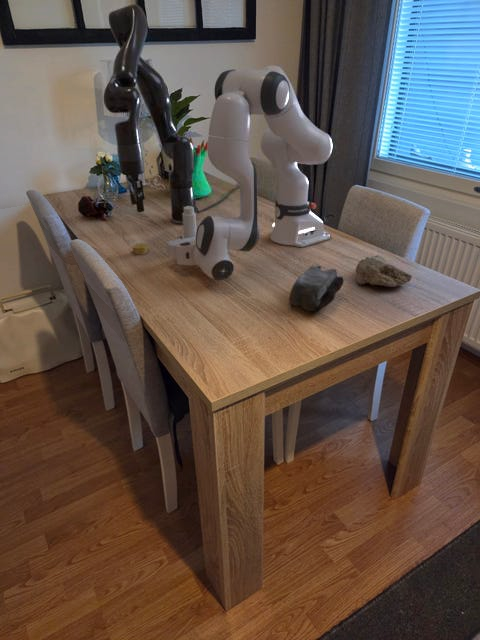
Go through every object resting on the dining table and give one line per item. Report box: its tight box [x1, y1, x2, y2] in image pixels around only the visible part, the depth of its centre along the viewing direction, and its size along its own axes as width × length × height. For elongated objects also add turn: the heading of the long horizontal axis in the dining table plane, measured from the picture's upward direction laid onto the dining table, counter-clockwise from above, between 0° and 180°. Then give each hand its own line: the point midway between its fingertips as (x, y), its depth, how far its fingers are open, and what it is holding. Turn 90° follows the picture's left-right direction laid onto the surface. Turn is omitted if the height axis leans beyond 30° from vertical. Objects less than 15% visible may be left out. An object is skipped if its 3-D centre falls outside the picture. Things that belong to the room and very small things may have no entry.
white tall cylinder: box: [182, 206, 197, 238], centre depth 150 cm, size 4×4×17 cm
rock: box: [288, 265, 345, 313], centre depth 125 cm, size 18×11×8 cm, turn 152°
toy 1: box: [77, 195, 115, 221], centre depth 185 cm, size 12×9×15 cm
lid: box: [132, 243, 148, 255], centre depth 157 cm, size 5×5×2 cm
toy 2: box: [168, 137, 212, 200], centre depth 210 cm, size 20×20×25 cm
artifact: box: [355, 255, 413, 288], centre depth 137 cm, size 18×7×15 cm
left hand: (137, 207), depth 149 cm, fingers open, 8 cm apart
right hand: (189, 236), depth 151 cm, fingers open, 6 cm apart
